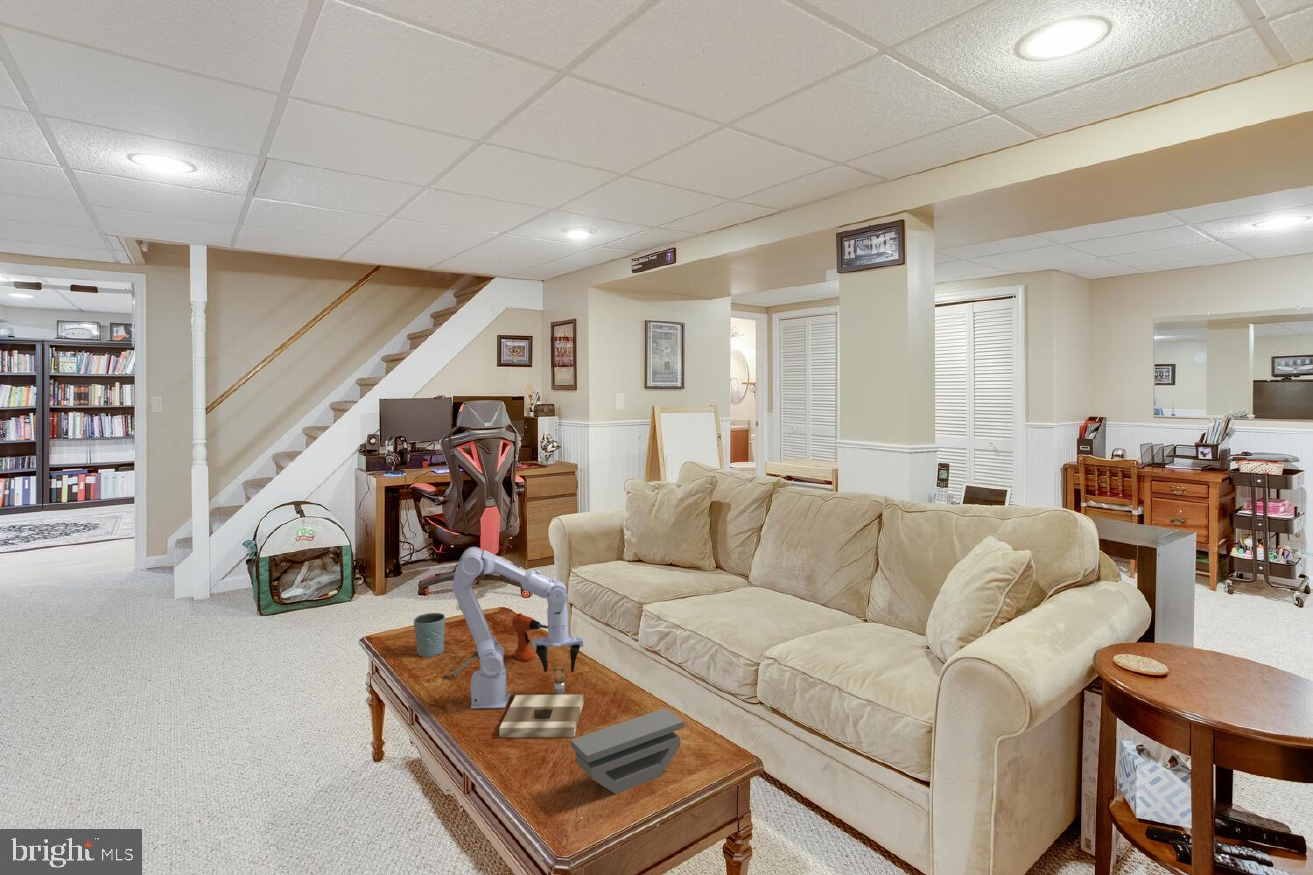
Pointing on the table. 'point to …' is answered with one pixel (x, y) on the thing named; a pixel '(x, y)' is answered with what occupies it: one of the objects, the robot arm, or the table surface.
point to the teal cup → (429, 634)
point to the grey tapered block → (629, 750)
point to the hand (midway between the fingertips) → (559, 670)
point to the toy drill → (524, 635)
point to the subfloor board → (542, 716)
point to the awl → (559, 680)
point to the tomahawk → (462, 666)
